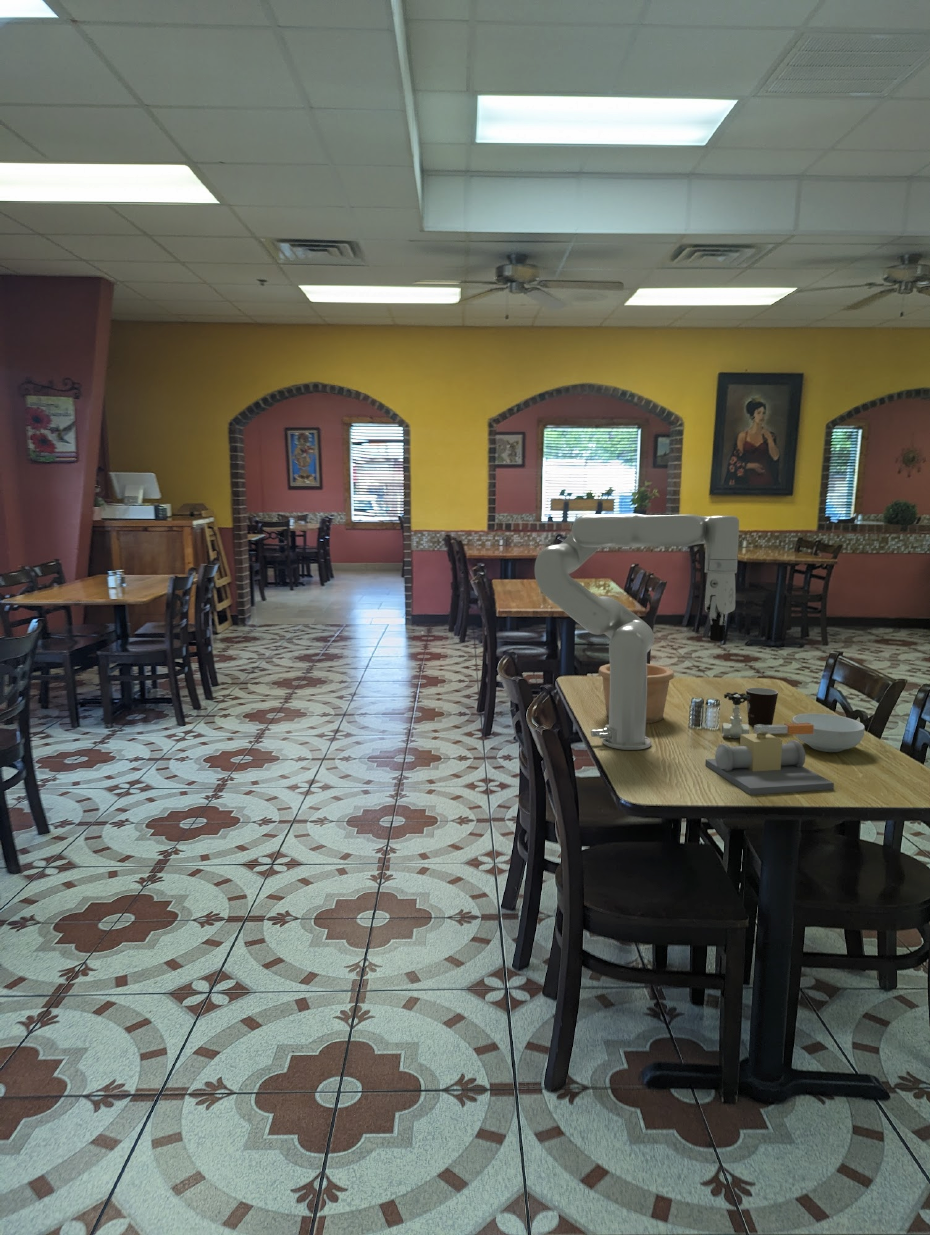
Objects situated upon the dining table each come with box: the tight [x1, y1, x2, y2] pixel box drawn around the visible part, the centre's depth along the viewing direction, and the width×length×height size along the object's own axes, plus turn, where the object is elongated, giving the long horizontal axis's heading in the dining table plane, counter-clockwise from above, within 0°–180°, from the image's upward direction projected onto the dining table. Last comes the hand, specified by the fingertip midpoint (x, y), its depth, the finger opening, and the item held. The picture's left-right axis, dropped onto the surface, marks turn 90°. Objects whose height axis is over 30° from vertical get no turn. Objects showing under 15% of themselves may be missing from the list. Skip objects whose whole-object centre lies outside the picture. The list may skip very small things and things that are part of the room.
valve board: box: [704, 733, 835, 796], centre depth 176 cm, size 20×20×9 cm
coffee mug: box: [745, 687, 779, 728], centre depth 221 cm, size 12×9×10 cm
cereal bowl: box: [791, 712, 866, 753], centre depth 199 cm, size 17×17×7 cm
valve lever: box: [753, 722, 814, 735], centre depth 179 cm, size 14×3×2 cm, turn 95°
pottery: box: [598, 663, 675, 724], centre depth 229 cm, size 22×22×14 cm
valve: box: [721, 691, 750, 739], centre depth 207 cm, size 7×7×12 cm
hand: (717, 640), depth 190 cm, fingers closed
